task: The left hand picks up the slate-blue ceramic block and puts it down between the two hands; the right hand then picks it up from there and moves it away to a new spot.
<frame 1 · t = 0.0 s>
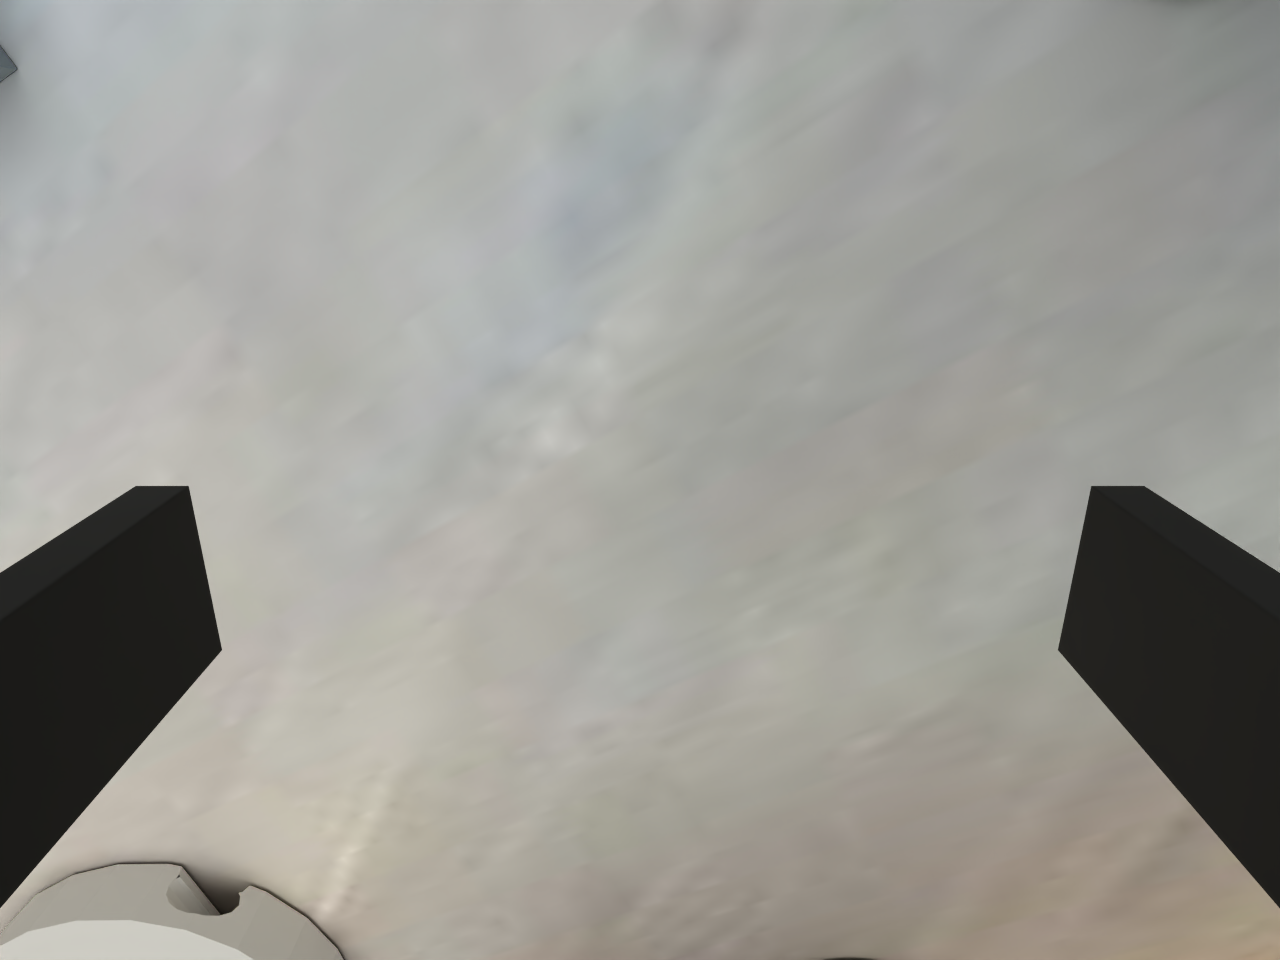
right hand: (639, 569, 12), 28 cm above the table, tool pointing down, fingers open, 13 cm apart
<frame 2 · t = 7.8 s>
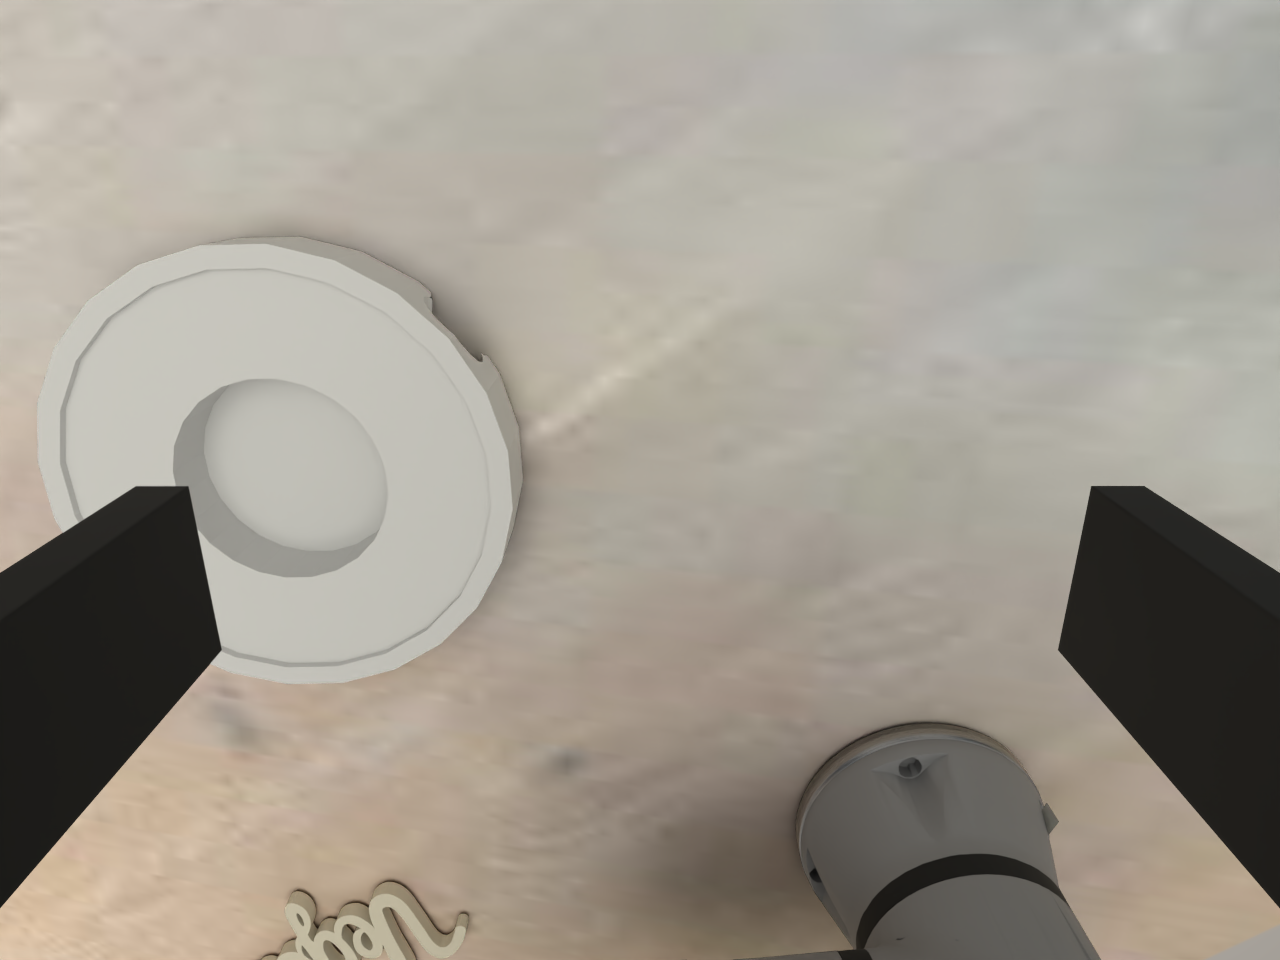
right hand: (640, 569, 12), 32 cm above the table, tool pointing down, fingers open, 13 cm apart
ashtray: (309, 457, 45), on the table
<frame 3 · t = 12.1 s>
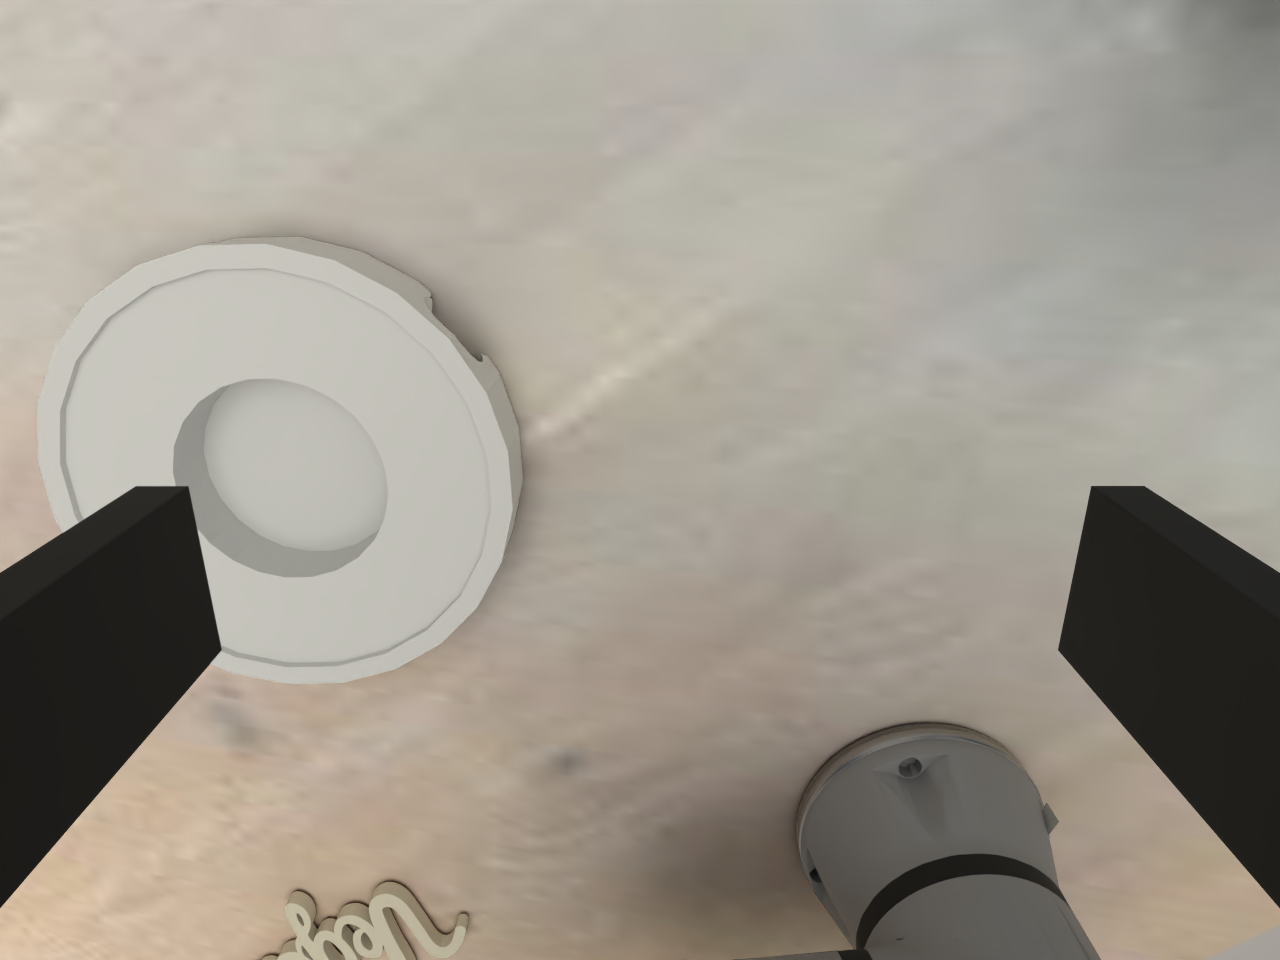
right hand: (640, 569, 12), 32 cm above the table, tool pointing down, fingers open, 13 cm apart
ashtray: (309, 457, 45), on the table
when the left hand's fingers open (4 cm above the table, at t = 16.6 s): block drops 1 cm, on the table.
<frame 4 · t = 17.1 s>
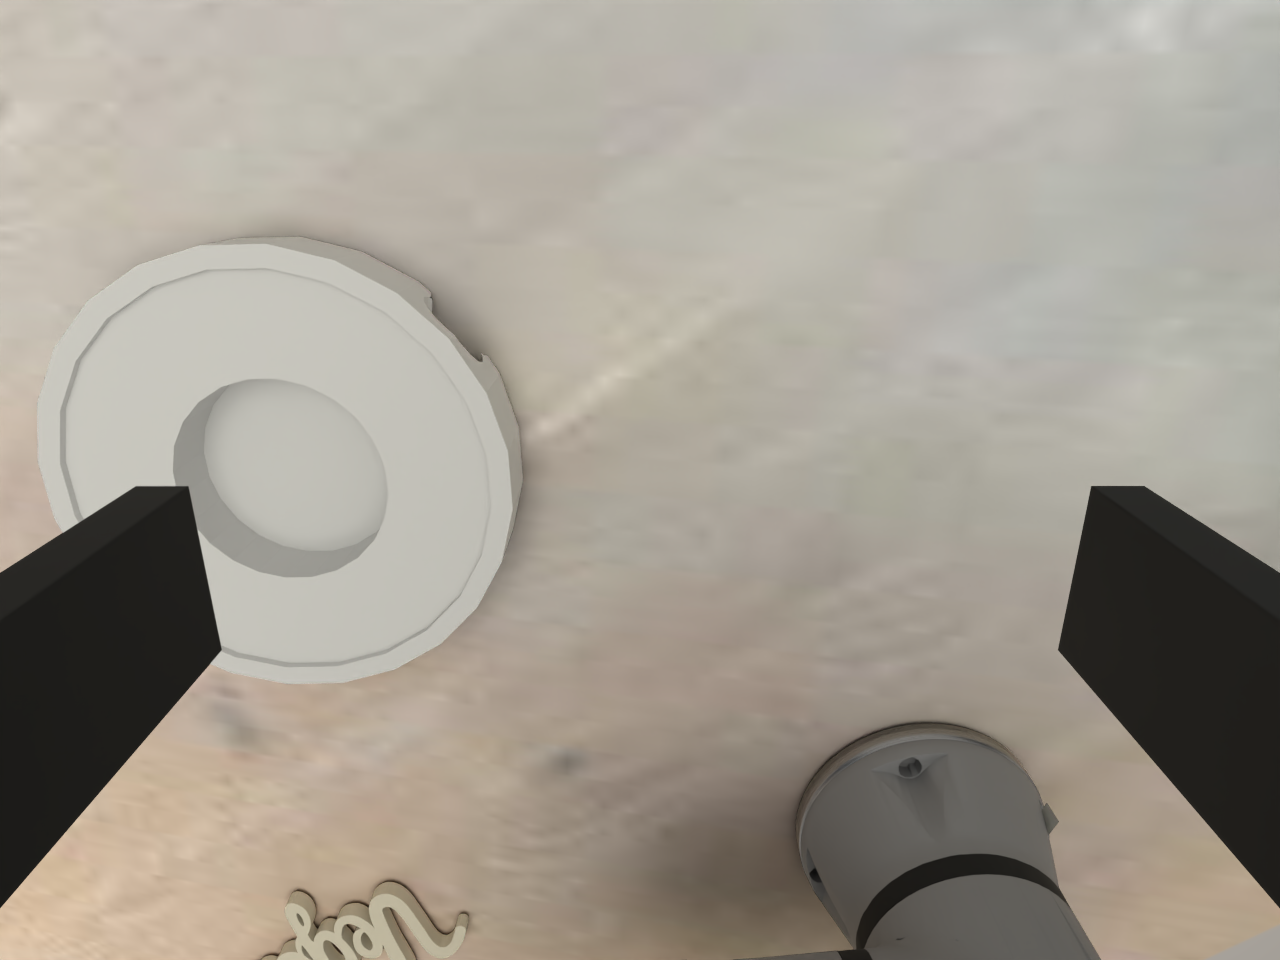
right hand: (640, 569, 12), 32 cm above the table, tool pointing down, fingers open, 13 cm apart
ashtray: (309, 457, 45), on the table
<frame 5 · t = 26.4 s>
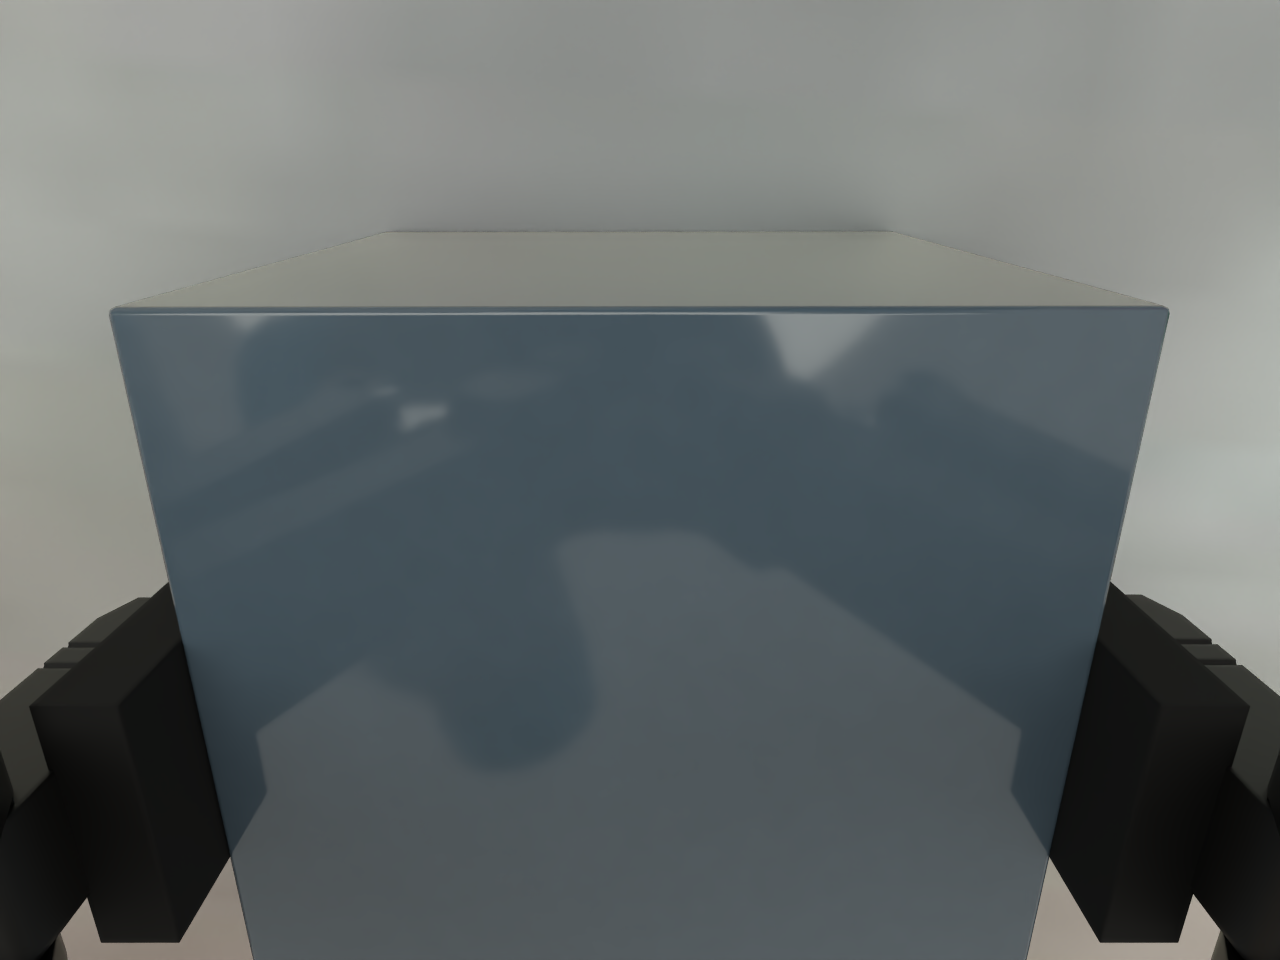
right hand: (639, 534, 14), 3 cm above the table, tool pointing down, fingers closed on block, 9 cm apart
block: (639, 475, 16), on the table, touching right hand
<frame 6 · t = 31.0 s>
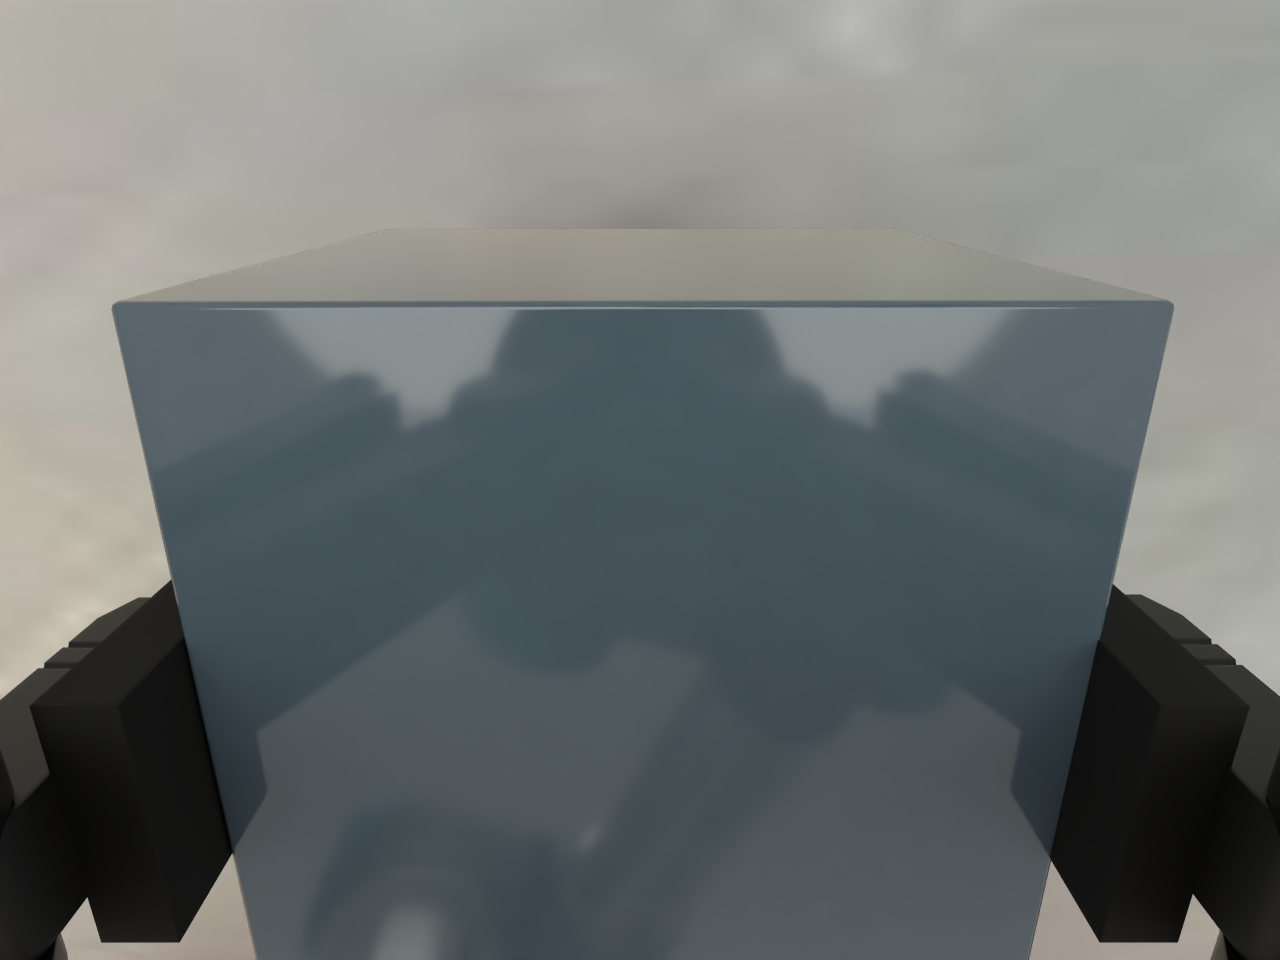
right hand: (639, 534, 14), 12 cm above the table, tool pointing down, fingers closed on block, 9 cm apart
block: (640, 473, 16), point 9 cm above the table, touching right hand
when the right hand's fingers open (4 cm above the table, at t = 35.7 s): block drops 1 cm, on the table.
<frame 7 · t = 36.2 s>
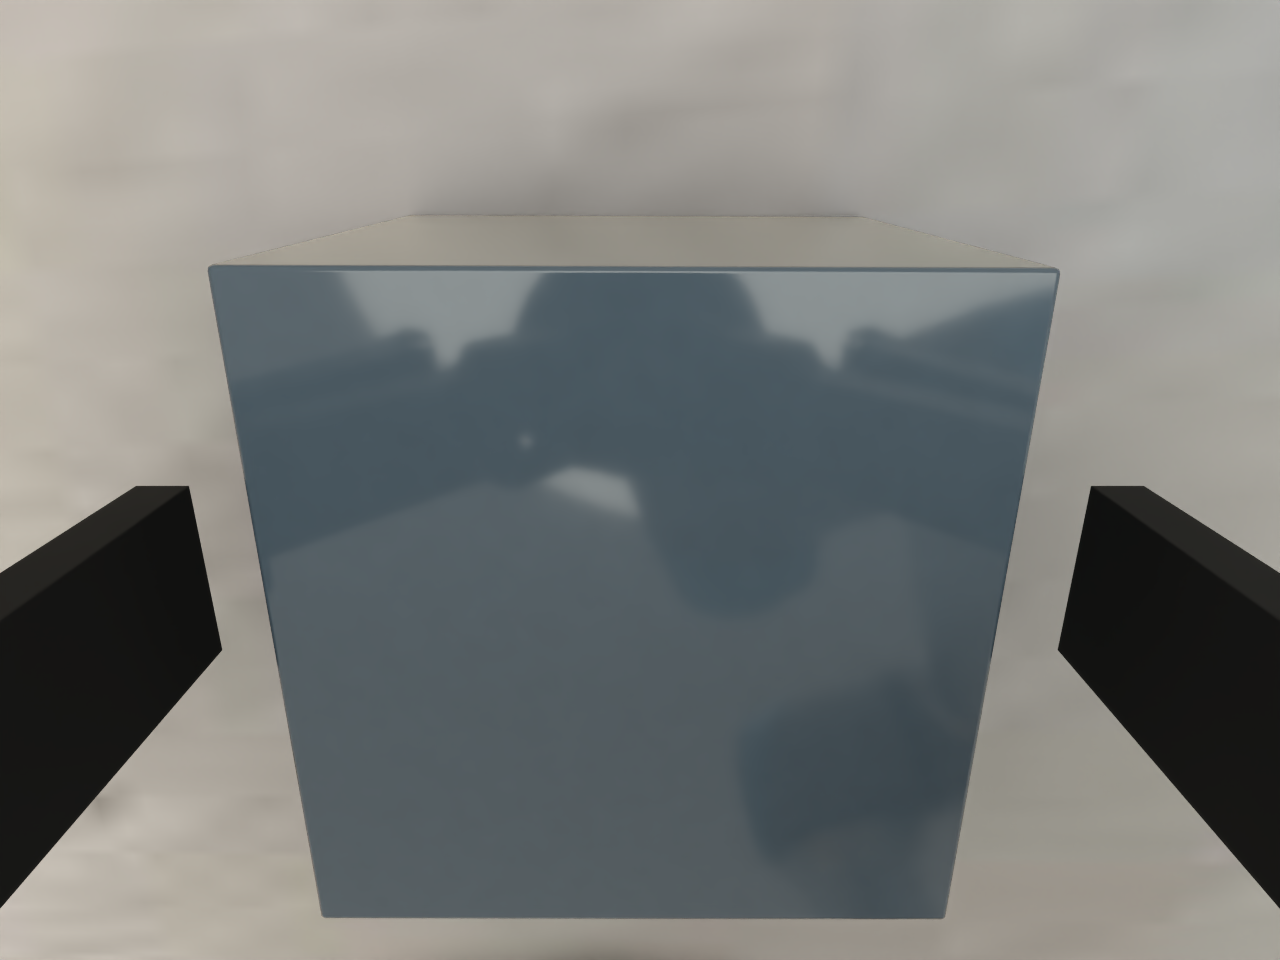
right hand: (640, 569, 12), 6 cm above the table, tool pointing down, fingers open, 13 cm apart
block: (636, 437, 18), on the table
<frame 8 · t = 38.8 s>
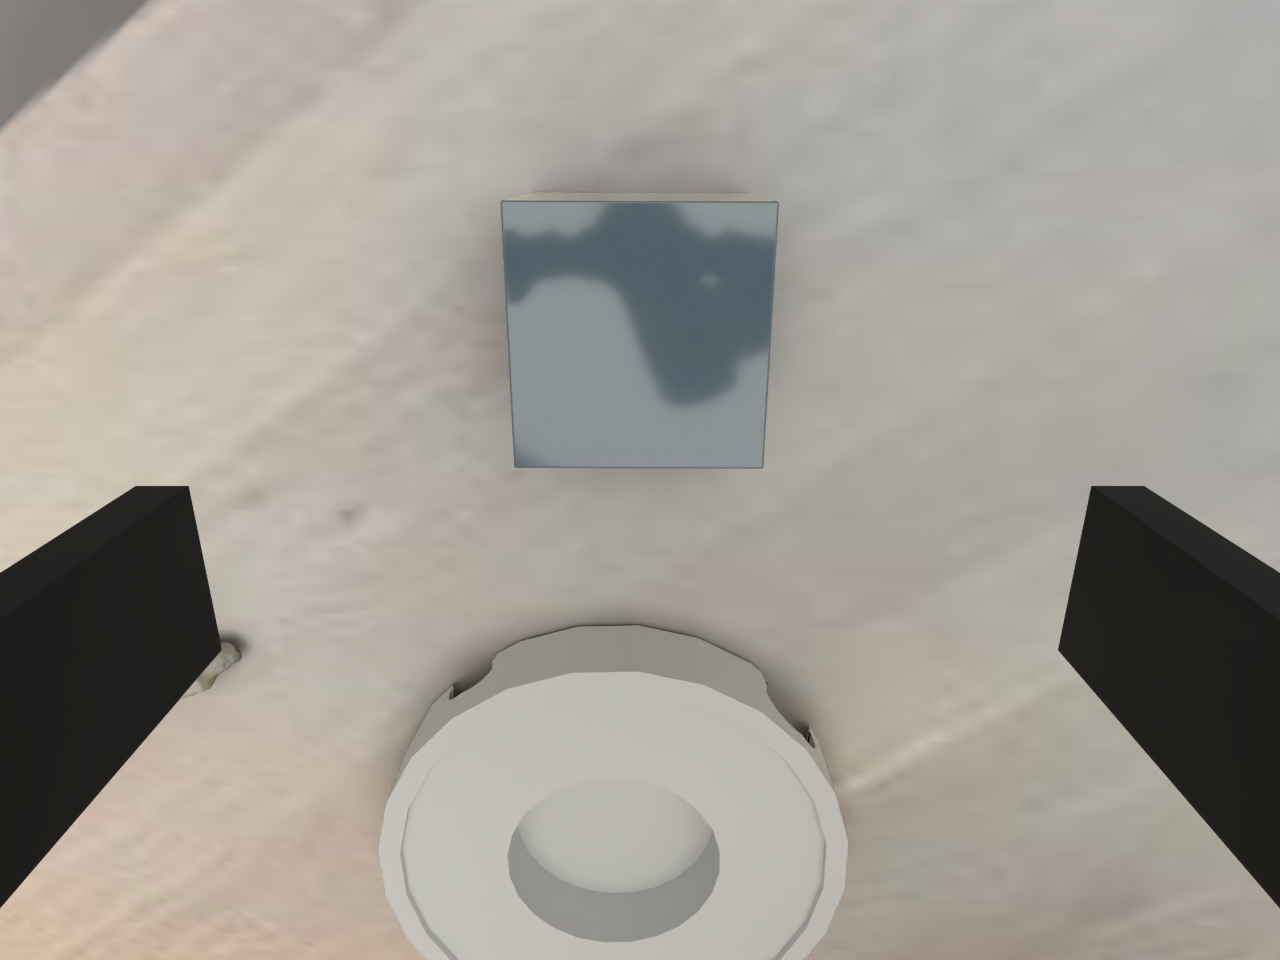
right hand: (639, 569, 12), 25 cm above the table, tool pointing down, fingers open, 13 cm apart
ashtray: (616, 809, 45), on the table
block: (639, 304, 36), on the table
syringe: (26, 714, 43), on the table
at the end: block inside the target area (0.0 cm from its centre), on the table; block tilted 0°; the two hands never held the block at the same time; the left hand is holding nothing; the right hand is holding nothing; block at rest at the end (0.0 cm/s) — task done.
